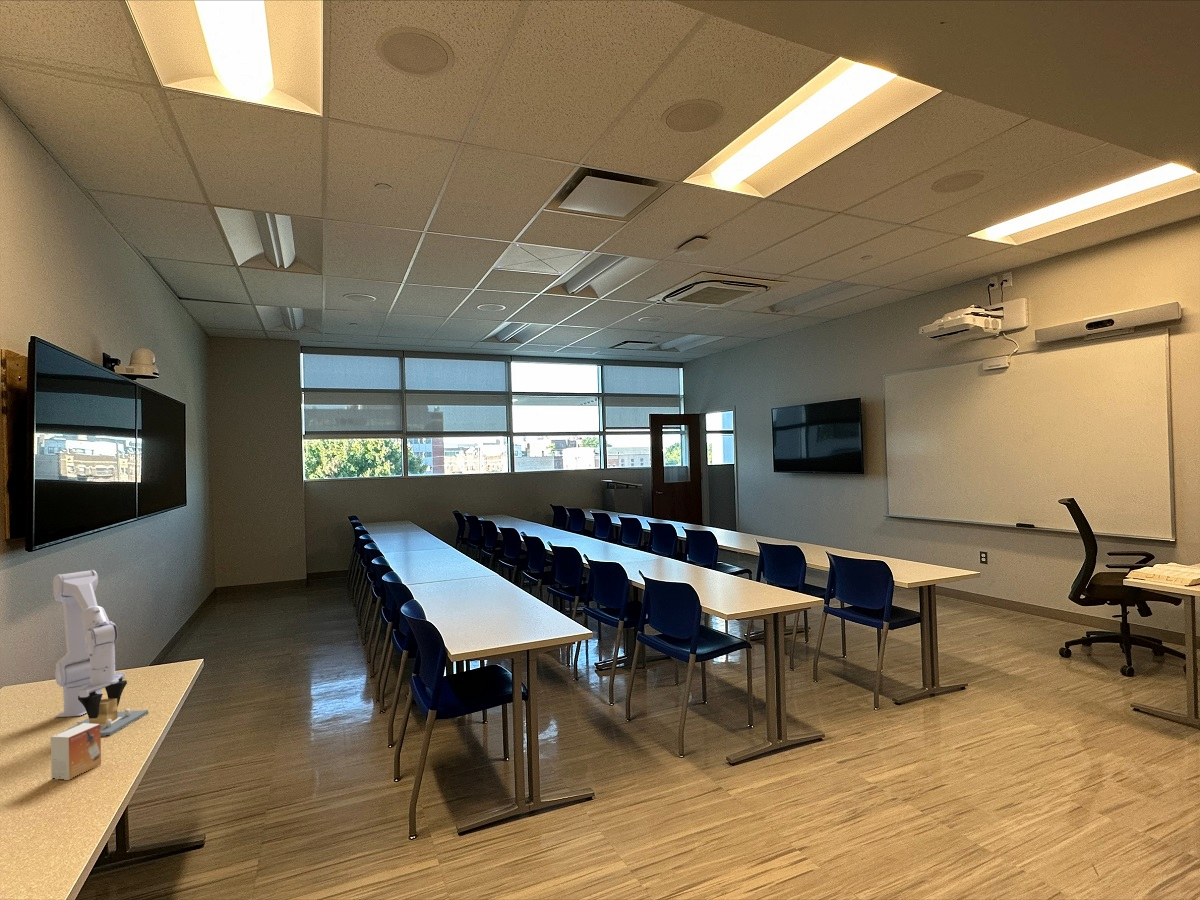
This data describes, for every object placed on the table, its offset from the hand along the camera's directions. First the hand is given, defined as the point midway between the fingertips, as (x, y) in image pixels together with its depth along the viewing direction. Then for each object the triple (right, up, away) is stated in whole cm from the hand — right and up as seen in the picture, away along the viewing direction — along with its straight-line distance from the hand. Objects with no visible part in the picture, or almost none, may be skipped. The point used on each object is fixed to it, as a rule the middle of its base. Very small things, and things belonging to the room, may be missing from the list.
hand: (103, 712), depth 177 cm
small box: (+16, -3, -27) cm, 32 cm away
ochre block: (0, -3, 0) cm, 3 cm away
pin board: (0, -4, 0) cm, 4 cm away
